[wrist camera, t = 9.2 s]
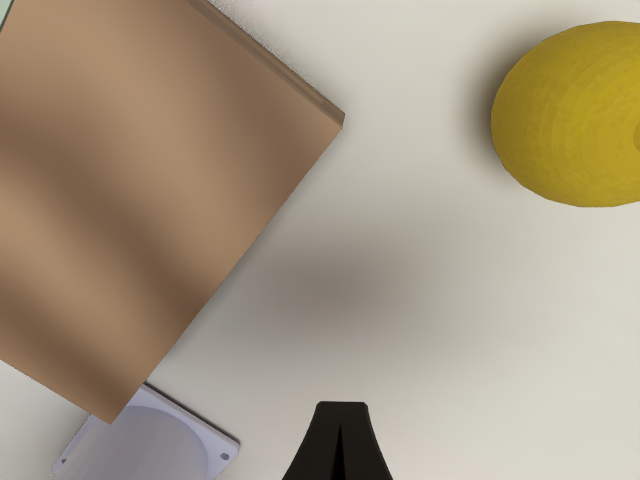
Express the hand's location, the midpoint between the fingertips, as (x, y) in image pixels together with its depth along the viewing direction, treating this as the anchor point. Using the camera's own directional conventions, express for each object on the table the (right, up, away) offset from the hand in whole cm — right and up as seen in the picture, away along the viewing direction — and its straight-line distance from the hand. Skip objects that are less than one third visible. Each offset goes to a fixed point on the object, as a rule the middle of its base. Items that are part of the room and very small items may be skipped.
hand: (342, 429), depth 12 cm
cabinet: (-8, +8, +8) cm, 14 cm away
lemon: (+8, +11, +6) cm, 15 cm away
